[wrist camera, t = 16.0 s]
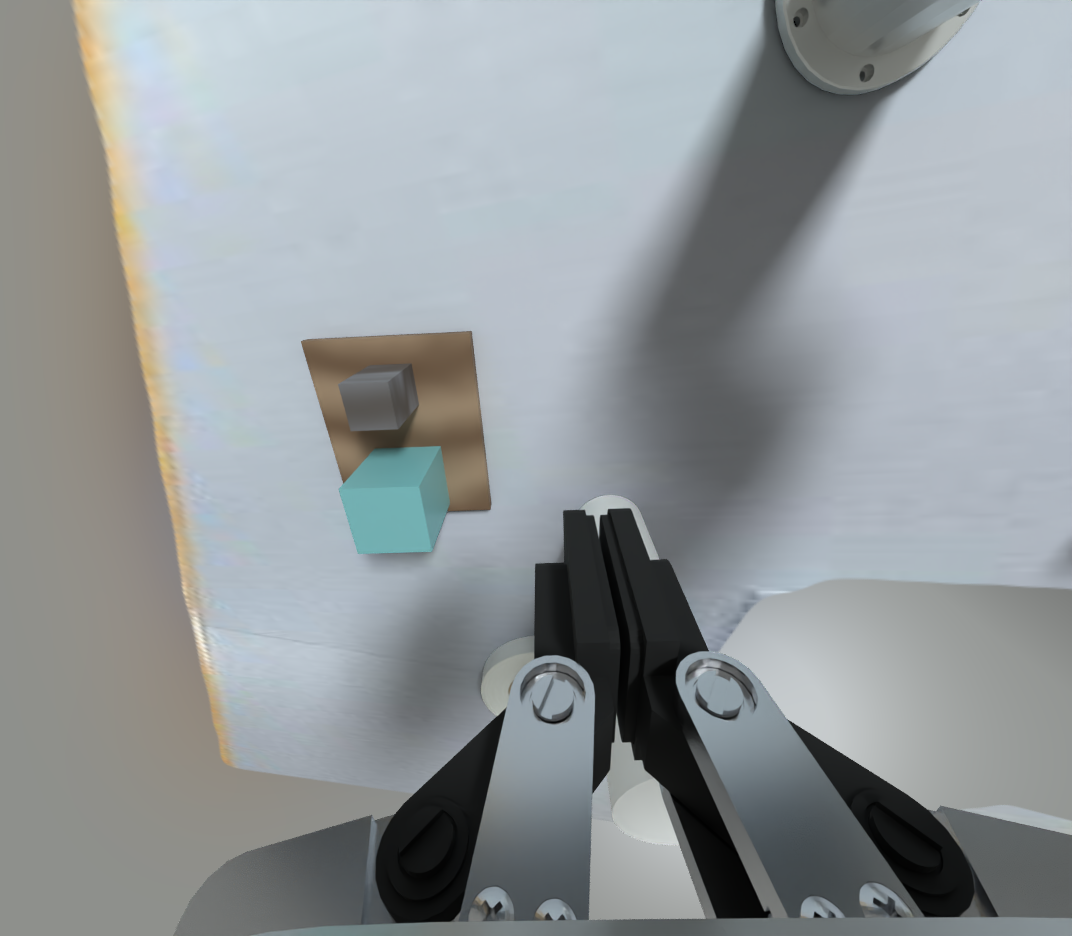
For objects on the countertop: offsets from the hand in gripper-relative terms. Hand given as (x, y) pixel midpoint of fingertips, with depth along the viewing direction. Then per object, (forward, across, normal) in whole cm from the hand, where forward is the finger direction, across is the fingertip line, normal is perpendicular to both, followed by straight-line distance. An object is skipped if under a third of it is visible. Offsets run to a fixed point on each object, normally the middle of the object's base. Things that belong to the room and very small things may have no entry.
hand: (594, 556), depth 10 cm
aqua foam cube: (+26, +14, +11) cm, 32 cm away
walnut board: (+27, +14, +6) cm, 31 cm away
